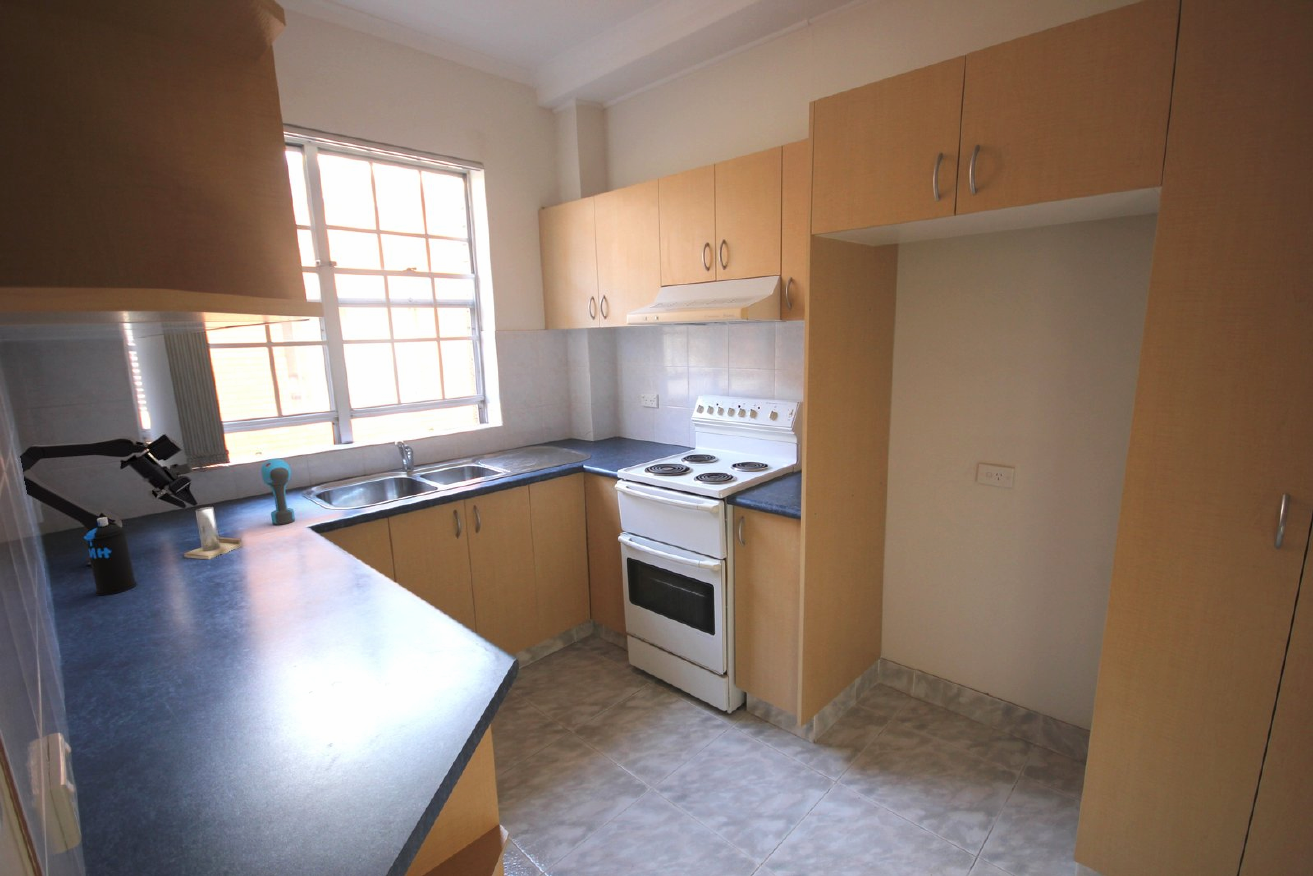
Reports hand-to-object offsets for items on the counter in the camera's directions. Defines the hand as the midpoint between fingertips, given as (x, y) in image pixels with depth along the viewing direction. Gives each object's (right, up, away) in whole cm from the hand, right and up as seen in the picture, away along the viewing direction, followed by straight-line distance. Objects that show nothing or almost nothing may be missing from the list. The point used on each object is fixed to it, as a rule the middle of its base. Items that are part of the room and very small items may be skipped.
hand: (190, 506), depth 189 cm
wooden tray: (+11, -14, -5) cm, 19 cm away
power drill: (+12, -8, +27) cm, 31 cm away
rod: (+11, -13, -6) cm, 18 cm away
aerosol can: (+5, -19, -31) cm, 37 cm away
